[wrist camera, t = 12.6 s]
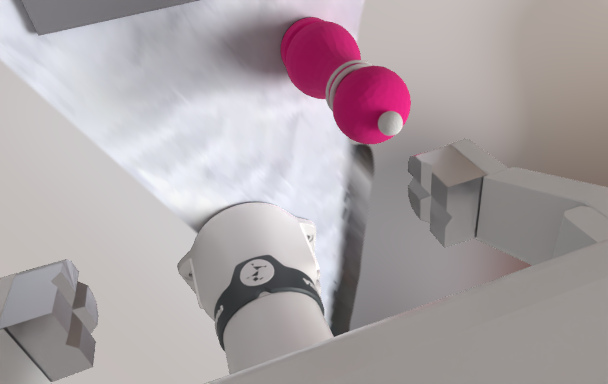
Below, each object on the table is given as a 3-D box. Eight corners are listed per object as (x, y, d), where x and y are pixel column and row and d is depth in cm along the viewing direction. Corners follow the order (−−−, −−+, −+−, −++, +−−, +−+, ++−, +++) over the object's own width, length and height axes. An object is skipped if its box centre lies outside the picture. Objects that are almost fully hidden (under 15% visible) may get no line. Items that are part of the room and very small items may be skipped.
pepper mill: (266, 70, 47) (332, 162, 31) (290, 1, 44) (376, 65, 28) (324, 88, 50) (411, 180, 34) (351, 25, 47) (459, 94, 31)
